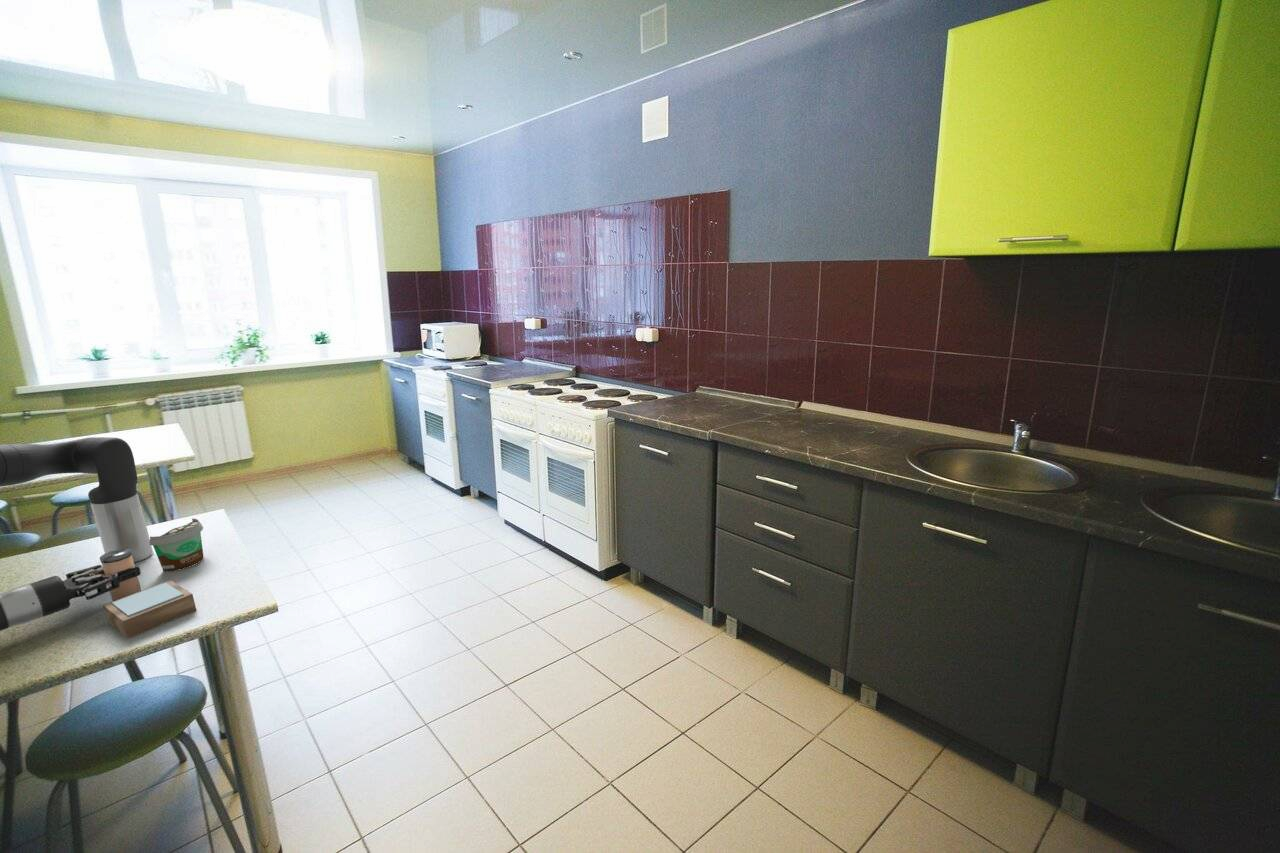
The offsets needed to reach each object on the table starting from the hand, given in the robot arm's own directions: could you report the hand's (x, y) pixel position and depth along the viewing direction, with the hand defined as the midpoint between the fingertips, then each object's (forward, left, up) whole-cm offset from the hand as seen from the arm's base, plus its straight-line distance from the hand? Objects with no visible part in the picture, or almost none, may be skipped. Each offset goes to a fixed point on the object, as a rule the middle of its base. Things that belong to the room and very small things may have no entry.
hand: (134, 567), depth 135 cm
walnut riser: (+15, -3, -7) cm, 17 cm away
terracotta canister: (0, -3, -7) cm, 7 cm away
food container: (-7, +12, -7) cm, 16 cm away
